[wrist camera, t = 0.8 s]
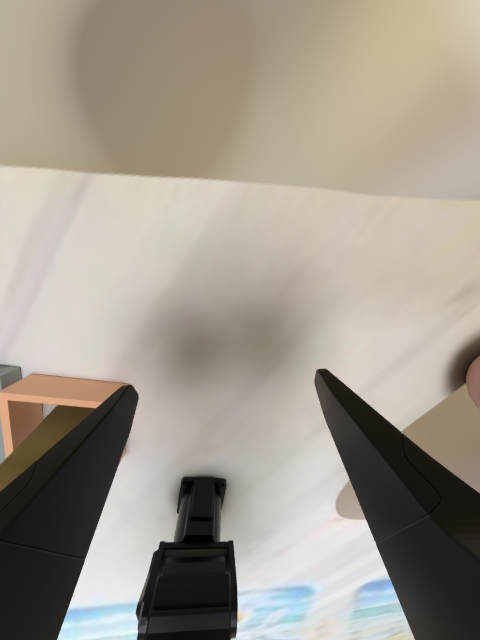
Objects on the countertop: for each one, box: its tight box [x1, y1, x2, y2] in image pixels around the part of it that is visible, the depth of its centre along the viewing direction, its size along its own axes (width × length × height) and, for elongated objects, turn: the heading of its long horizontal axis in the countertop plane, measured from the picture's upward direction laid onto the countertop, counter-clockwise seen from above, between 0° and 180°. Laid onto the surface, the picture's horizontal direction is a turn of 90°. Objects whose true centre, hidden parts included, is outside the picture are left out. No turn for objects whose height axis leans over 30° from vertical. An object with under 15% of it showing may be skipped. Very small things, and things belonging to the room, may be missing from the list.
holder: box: [0, 374, 129, 464], centre depth 22 cm, size 11×11×4 cm
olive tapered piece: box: [0, 405, 96, 491], centre depth 18 cm, size 6×6×11 cm
